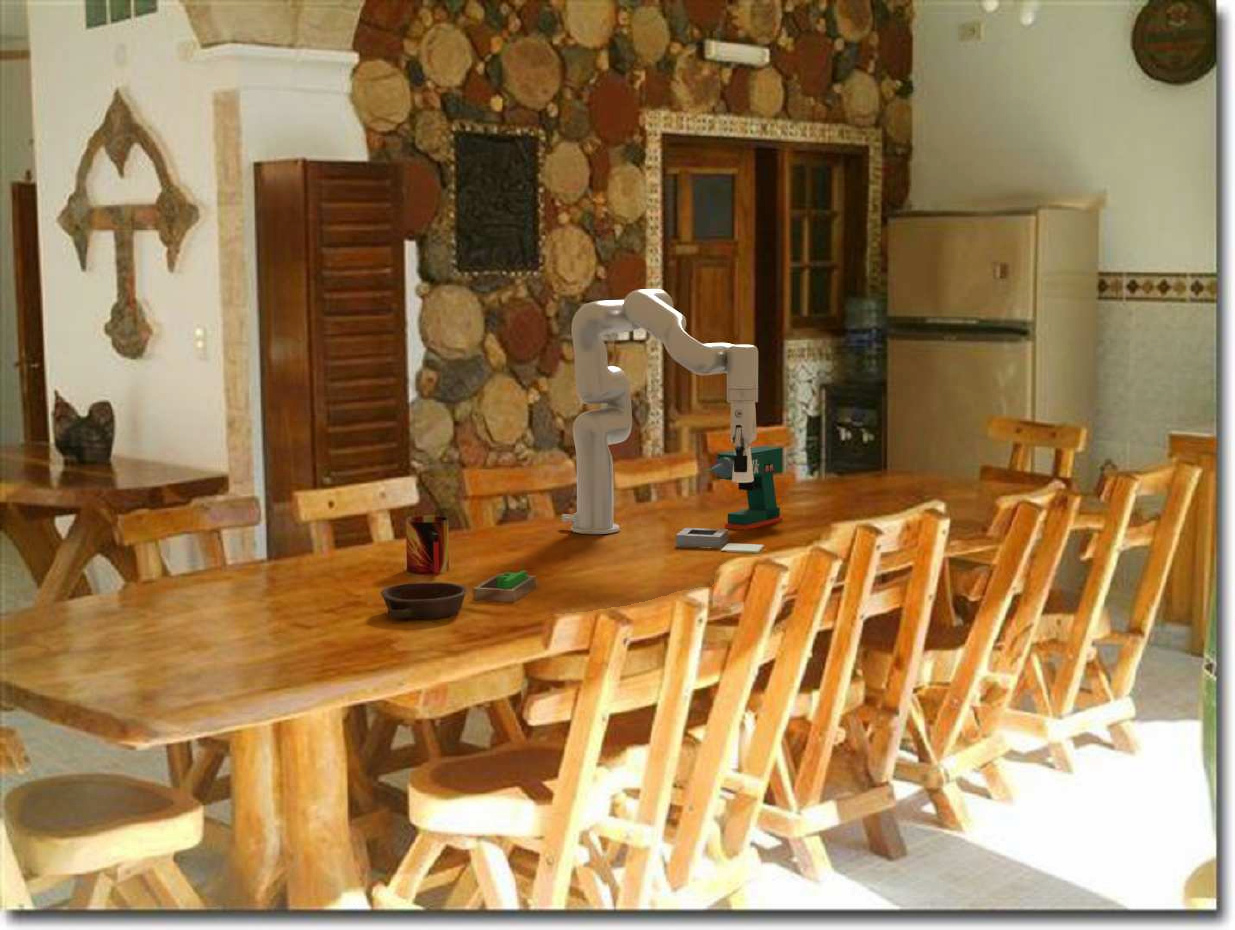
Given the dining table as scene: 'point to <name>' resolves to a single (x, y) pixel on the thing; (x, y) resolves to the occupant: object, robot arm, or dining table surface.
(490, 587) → the tray
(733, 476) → the pepper shaker
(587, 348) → the robot arm
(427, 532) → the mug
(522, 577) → the green bumpy block
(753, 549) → the pad
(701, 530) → the block
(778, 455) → the power tool
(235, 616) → the dining table surface
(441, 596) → the dish
